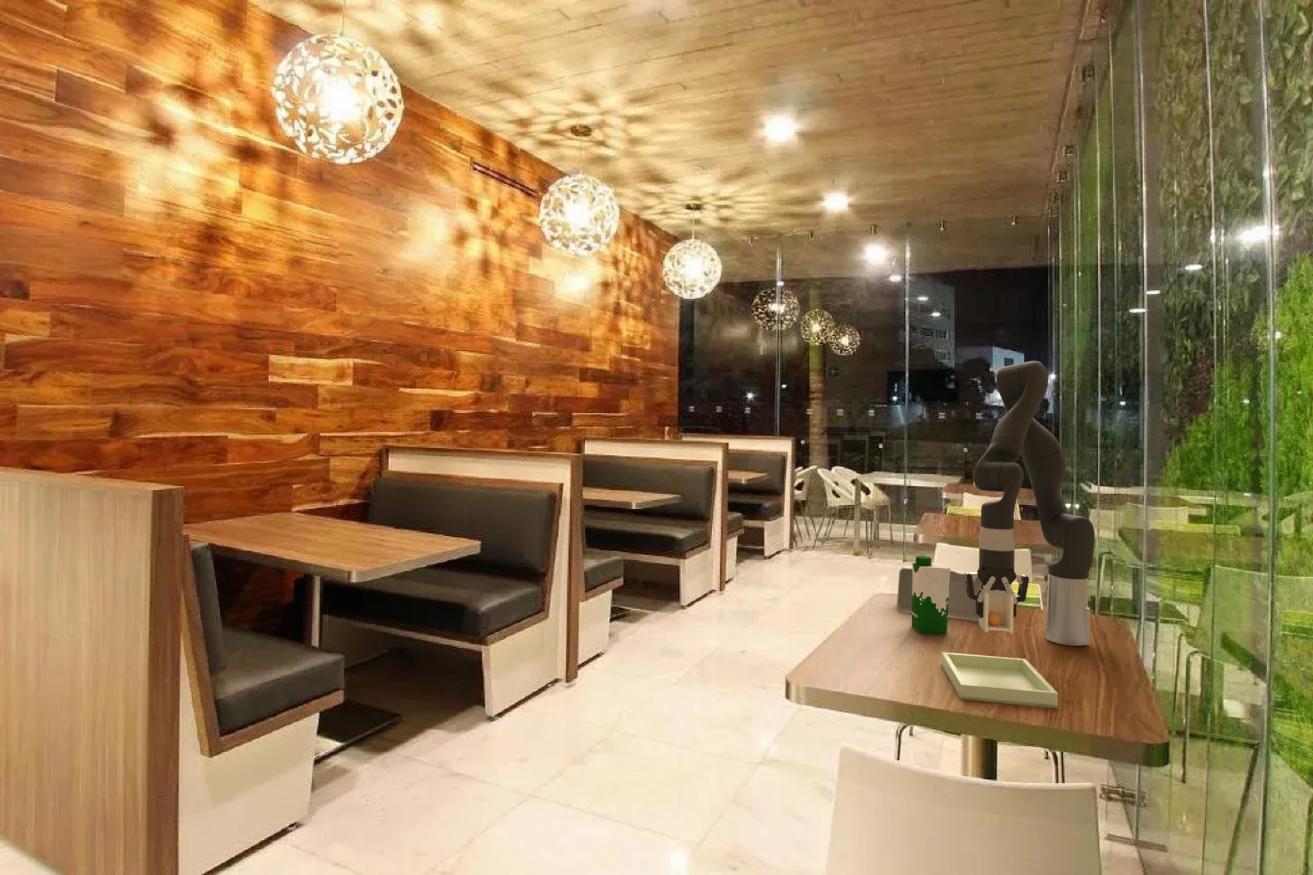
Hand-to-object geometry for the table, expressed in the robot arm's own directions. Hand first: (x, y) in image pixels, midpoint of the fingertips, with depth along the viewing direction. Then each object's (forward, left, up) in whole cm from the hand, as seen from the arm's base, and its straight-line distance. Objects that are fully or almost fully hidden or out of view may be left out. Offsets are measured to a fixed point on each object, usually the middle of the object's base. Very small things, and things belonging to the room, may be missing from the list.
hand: (995, 617), depth 172 cm
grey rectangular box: (+3, -50, -11) cm, 51 cm away
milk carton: (+11, -25, -11) cm, 29 cm away
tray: (+4, +16, -11) cm, 20 cm away
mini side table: (0, 0, -3) cm, 3 cm away
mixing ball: (0, -1, 0) cm, 1 cm away
